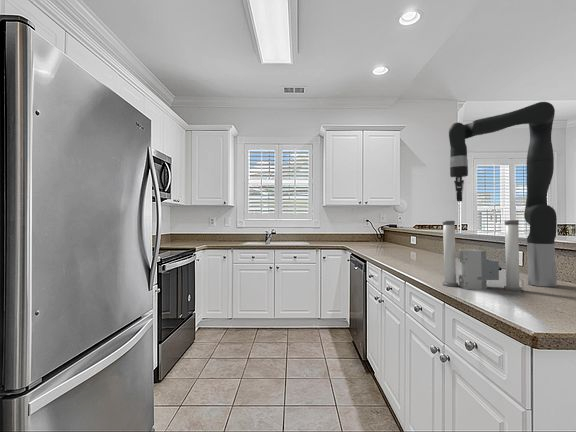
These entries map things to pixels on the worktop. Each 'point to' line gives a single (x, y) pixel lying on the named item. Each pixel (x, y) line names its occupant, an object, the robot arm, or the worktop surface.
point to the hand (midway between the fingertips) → (459, 201)
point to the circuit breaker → (477, 269)
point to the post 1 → (449, 254)
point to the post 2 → (512, 255)
